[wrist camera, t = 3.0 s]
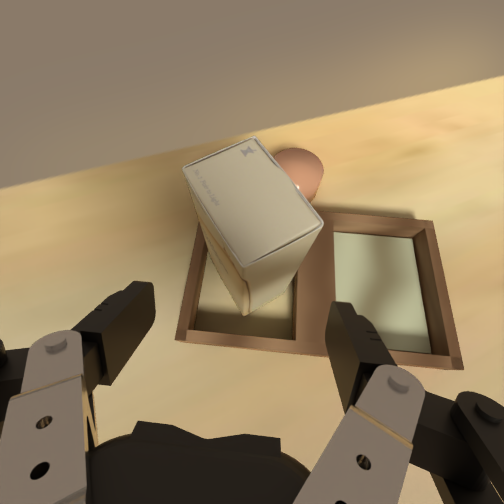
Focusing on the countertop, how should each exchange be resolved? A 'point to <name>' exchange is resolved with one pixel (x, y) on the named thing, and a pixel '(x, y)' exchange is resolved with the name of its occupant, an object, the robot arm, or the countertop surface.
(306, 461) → the countertop surface
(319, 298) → the walnut organizer
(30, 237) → the countertop surface
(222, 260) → the skincare box
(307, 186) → the pinkish brown rounded piece
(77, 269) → the countertop surface
